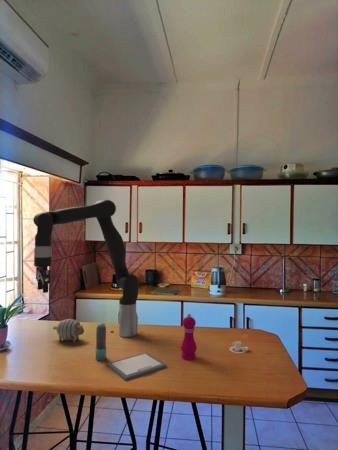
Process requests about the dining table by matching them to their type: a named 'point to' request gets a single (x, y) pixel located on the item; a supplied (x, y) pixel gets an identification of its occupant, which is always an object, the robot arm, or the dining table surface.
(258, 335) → the dining table surface
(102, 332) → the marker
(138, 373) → the grey flat block
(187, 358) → the pepper mill
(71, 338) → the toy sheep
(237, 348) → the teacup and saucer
